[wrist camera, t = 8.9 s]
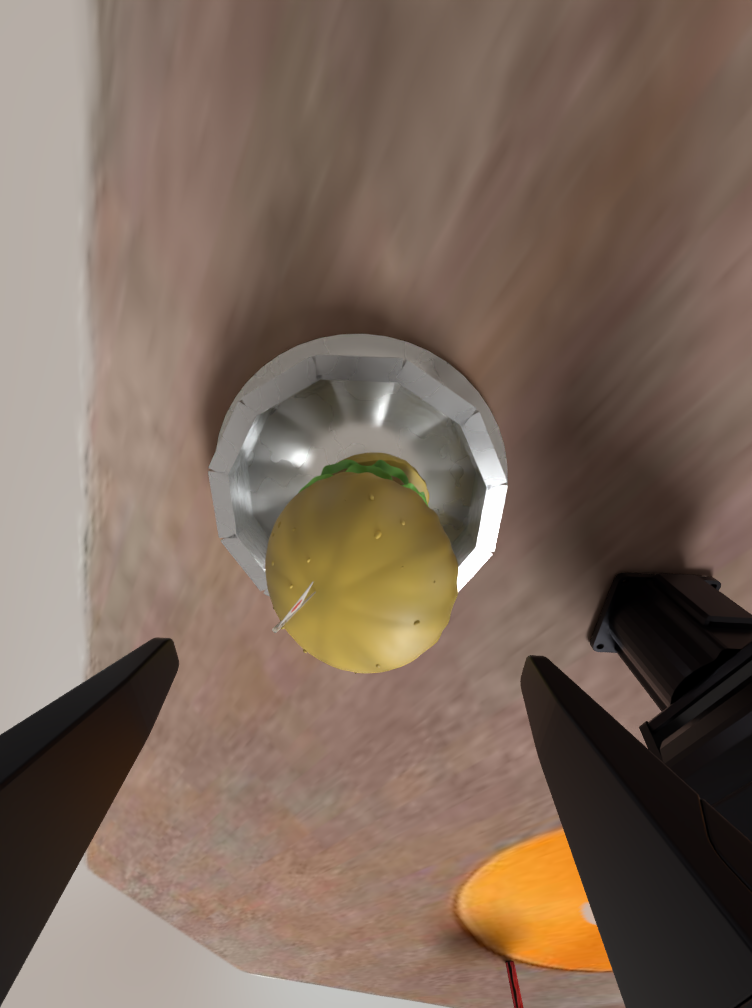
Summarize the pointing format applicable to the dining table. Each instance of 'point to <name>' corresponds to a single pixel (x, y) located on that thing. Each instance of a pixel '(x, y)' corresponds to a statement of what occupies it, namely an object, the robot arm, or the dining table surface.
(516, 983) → the lantern
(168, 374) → the dining table surface
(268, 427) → the collar
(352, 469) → the hamburger
